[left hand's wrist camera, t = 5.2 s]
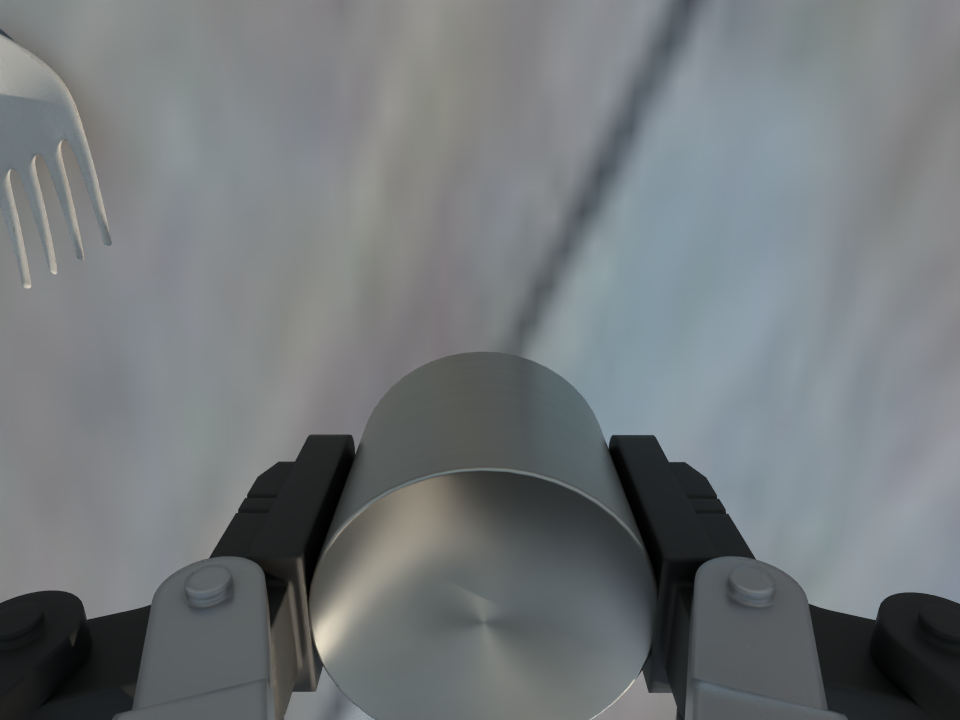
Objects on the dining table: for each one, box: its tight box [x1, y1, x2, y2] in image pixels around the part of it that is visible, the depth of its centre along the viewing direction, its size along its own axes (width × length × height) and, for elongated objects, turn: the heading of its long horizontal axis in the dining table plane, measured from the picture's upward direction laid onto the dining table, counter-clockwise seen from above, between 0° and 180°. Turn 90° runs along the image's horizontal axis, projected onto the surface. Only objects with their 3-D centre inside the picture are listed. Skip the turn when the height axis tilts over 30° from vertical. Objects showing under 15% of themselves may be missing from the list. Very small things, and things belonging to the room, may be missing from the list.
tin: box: [308, 352, 658, 720], centre depth 11 cm, size 5×5×4 cm
